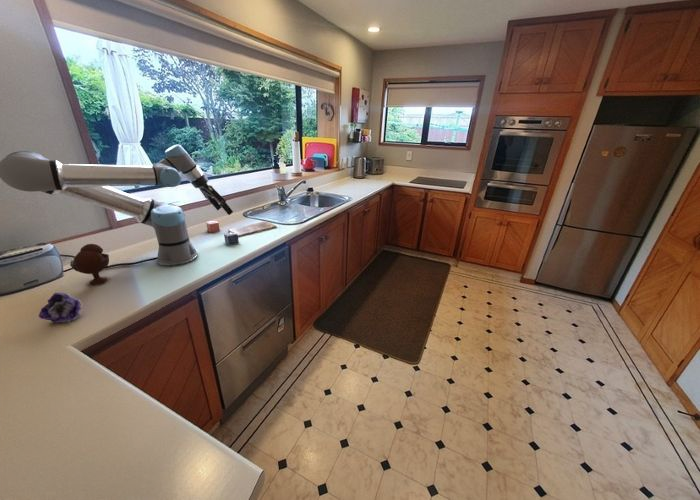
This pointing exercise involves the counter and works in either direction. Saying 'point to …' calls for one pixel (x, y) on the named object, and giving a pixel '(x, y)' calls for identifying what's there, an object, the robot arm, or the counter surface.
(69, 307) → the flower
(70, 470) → the counter surface
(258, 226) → the word board
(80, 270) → the ice cream bowl
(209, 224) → the orange block
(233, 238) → the dark grey cube
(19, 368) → the counter surface
